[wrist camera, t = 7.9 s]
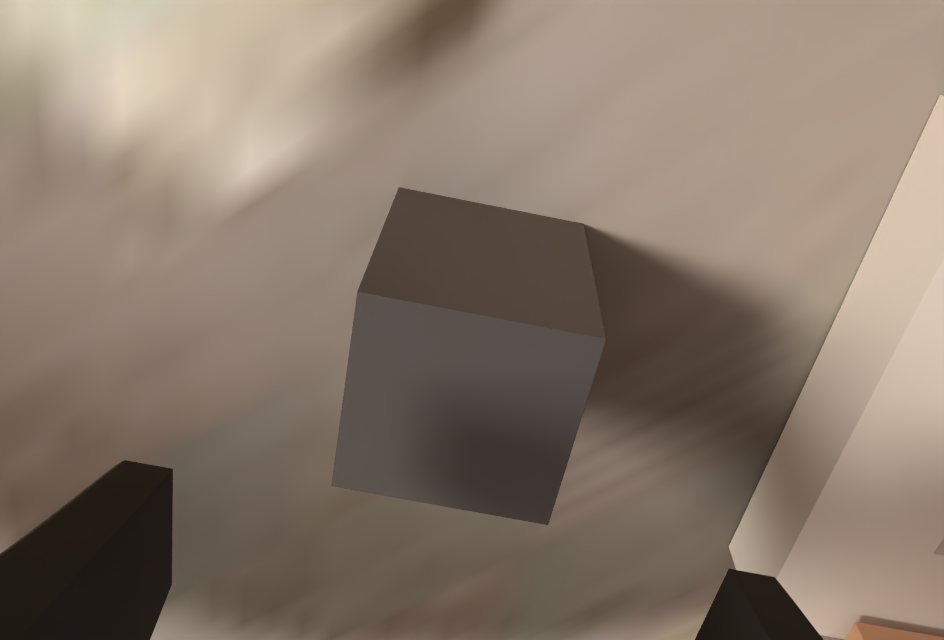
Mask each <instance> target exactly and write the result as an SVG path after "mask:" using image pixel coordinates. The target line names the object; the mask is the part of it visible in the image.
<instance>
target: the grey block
mask: <svg viewBox="0 0 944 640" xmlns="http://www.w3.org/2000/svg"><path fill="white" fill-rule="evenodd" d="M605 341H606V336H605V330H604V325H603V320H602V315H601V310H600V305H599V300H598V295H597V290H596V285H595V279H594V274H593V269H592V264H591V259H590V254H589V249H588V244H587V239H586V234H585V228H584V224H582V223H577V222H572V221H566V220H561V219H556V218H551V217H546V216H541V215H536V214H531V213H526V212H521V211H516V210H511V209H506V208H501V207H496V206H491V205H486V204H480V203H475V202H470V201H465V200H460V199H455V198H450V197H445V196H440V195H435V194H430V193H425V192H420V191H415V190H410V189H405V188H399V189H398V191H397V194H396V196H395V199H394V201H393V204H392V206H391V209H390V211H389V214H388V216H387V219H386V221H385V224H384V226H383V229H382V231H381V234H380V236H379V239H378V241H377V244H376V246H375V249H374V251H373V254H372V256H371V259H370V261H369V264H368V266H367V269H366V271H365V274H364V277H363V279H362V282H361V284H360V287H359V289H358V292H357V299H356V306H355V314H354V321H353V329H352V336H351V344H350V351H349V359H348V366H347V374H346V381H345V389H344V396H343V403H342V411H341V418H340V426H339V433H338V441H337V448H336V456H335V463H334V471H333V478H332V486H334V487H340V488H345V489H351V490H356V491H362V492H368V493H373V494H379V495H384V496H390V497H395V498H401V499H406V500H412V501H418V502H423V503H429V504H434V505H440V506H445V507H451V508H457V509H462V510H468V511H473V512H479V513H484V514H490V515H495V516H501V517H507V518H512V519H518V520H523V521H529V522H534V523H540V524H546V525H548V523H549V520H550V517H551V514H552V511H553V508H554V504H555V501H556V498H557V495H558V492H559V488H560V485H561V482H562V479H563V476H564V472H565V469H566V466H567V463H568V460H569V456H570V453H571V450H572V447H573V444H574V440H575V437H576V434H577V431H578V428H579V424H580V421H581V418H582V415H583V412H584V409H585V405H586V402H587V399H588V396H589V393H590V389H591V386H592V383H593V380H594V377H595V373H596V370H597V367H598V364H599V361H600V357H601V354H602V351H603V348H604V345H605Z"/></svg>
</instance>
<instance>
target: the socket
mask: <svg viewBox="0 0 944 640" xmlns="http://www.w3.org/2000/svg"><path fill="white" fill-rule="evenodd" d="M729 549H730V552H731V555H732V558H733V561H734V564H735V568H736V570H739V571H744V572H750V573H756V574H761V575H767V576H772V577H775V578H776V579H777V580H778V582H779V583H780V584H781V585H782V587H783V588H784V589H785V590H786V592H787V593H788V594H789V595H790V597H791V598H792V599H793V601H794V602H795V603H796V604H797V606H798V607H799V608H800V610H801V611H802V612H803V614H804V615H805V616H806V618H807V619H808V620H809V621H810V623H811V624H812V625H813V627H814V628H815V629H816V631H817V632H818V633H819V635H823V636H828V637H834V638H840V639H845V638H846V636H847V634H848V633H849V631H850V629H851V628H852V626H853V624H854V623H855V622H860V623H866V624H871V625H877V626H882V627H888V628H894V629H899V630H905V631H910V632H916V633H922V634H927V635H933V636H938V637H944V95H940V96H939V99H938V101H937V103H936V105H935V107H934V109H933V111H932V113H931V116H930V118H929V120H928V122H927V124H926V126H925V128H924V131H923V133H922V135H921V137H920V139H919V141H918V143H917V146H916V148H915V150H914V152H913V154H912V156H911V158H910V160H909V163H908V165H907V167H906V169H905V171H904V173H903V175H902V178H901V180H900V182H899V184H898V186H897V188H896V190H895V193H894V195H893V197H892V199H891V201H890V203H889V205H888V207H887V210H886V212H885V214H884V216H883V218H882V220H881V222H880V225H879V227H878V229H877V231H876V233H875V235H874V237H873V240H872V242H871V244H870V246H869V248H868V250H867V252H866V255H865V257H864V259H863V261H862V263H861V265H860V267H859V269H858V272H857V274H856V276H855V278H854V280H853V282H852V284H851V287H850V289H849V291H848V293H847V295H846V297H845V299H844V302H843V304H842V306H841V308H840V310H839V312H838V314H837V316H836V319H835V321H834V323H833V325H832V327H831V329H830V331H829V334H828V336H827V338H826V340H825V342H824V344H823V346H822V349H821V351H820V353H819V355H818V357H817V359H816V361H815V363H814V366H813V368H812V370H811V372H810V374H809V376H808V378H807V381H806V383H805V385H804V387H803V389H802V391H801V393H800V396H799V398H798V400H797V402H796V404H795V406H794V408H793V410H792V413H791V415H790V417H789V419H788V421H787V423H786V425H785V428H784V430H783V432H782V434H781V436H780V438H779V440H778V443H777V445H776V447H775V449H774V451H773V453H772V455H771V457H770V460H769V462H768V464H767V466H766V468H765V470H764V472H763V475H762V477H761V479H760V481H759V483H758V485H757V487H756V490H755V492H754V494H753V496H752V498H751V500H750V502H749V504H748V507H747V509H746V511H745V513H744V515H743V517H742V519H741V522H740V524H739V526H738V528H737V530H736V532H735V534H734V537H733V539H732V541H731V543H730V545H729Z"/></svg>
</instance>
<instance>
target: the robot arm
mask: <svg viewBox="0 0 944 640" xmlns="http://www.w3.org/2000/svg"><path fill="white" fill-rule="evenodd" d="M172 495H173V469H170V468H165V467H159V466H153V465H148V464H142V463H137V462H131V461H126V460H124V461H122V462H121V463H119V464H117V465H116V466H114V467H113V468H112V469H111V470H109V471H108V472H107V473H105V474H104V475H103V476H102V477H100V478H99V479H98V480H96V481H95V482H94V483H93V484H91V485H90V486H89V487H88V488H86V489H85V490H84V491H82V492H81V493H80V494H79V495H77V496H76V497H75V498H74V499H72V500H71V501H70V502H68V503H67V504H66V505H65V506H63V507H62V508H61V509H59V510H58V511H57V512H56V513H54V514H53V515H52V516H50V517H49V518H48V519H46V520H45V521H44V522H42V523H41V524H40V525H39V526H37V527H36V528H35V529H33V530H32V531H31V532H29V533H28V534H27V535H25V536H24V537H23V538H21V539H20V540H19V541H17V542H16V543H15V544H13V545H12V546H10V547H9V548H8V549H6V550H5V551H4V552H2V553H1V554H0V640H150V638H151V635H152V633H153V631H154V628H155V626H156V623H157V621H158V618H159V615H160V613H161V610H162V608H163V605H164V603H165V600H166V597H167V595H168V592H169V590H170V587H171V585H172ZM695 640H823V639H822V637H821V636H820V635H819V633H818V632H817V631H816V629H815V628H814V627H813V625H812V624H811V623H810V621H809V620H808V619H807V618H806V616H805V615H804V614H803V612H802V611H801V610H800V608H799V607H798V606H797V604H796V603H795V602H794V601H793V599H792V598H791V597H790V595H789V594H788V593H787V592H786V590H785V589H784V588H783V587H782V585H781V584H780V583H779V582H778V580H777V579H776V578H775V577H772V576H767V575H761V574H756V573H750V572H744V571H739V570H733V569H729V570H728V572H727V574H726V576H725V578H724V580H723V582H722V584H721V586H720V588H719V591H718V593H717V595H716V597H715V599H714V601H713V603H712V605H711V607H710V609H709V611H708V614H707V616H706V618H705V620H704V622H703V624H702V626H701V628H700V630H699V632H698V634H697V637H696V639H695Z"/></svg>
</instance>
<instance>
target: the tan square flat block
mask: <svg viewBox="0 0 944 640" xmlns="http://www.w3.org/2000/svg"><path fill="white" fill-rule="evenodd" d="M844 640H944V637H938V636H933V635H927V634H922V633H916V632H910V631H905V630H899V629H894V628H888V627H882V626H877V625H871V624H866V623H860V622H855V623H854V624H853V626H852V628H851V629H850V631H849V633H848V634H847V636H846V638H845V639H844Z"/></svg>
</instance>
